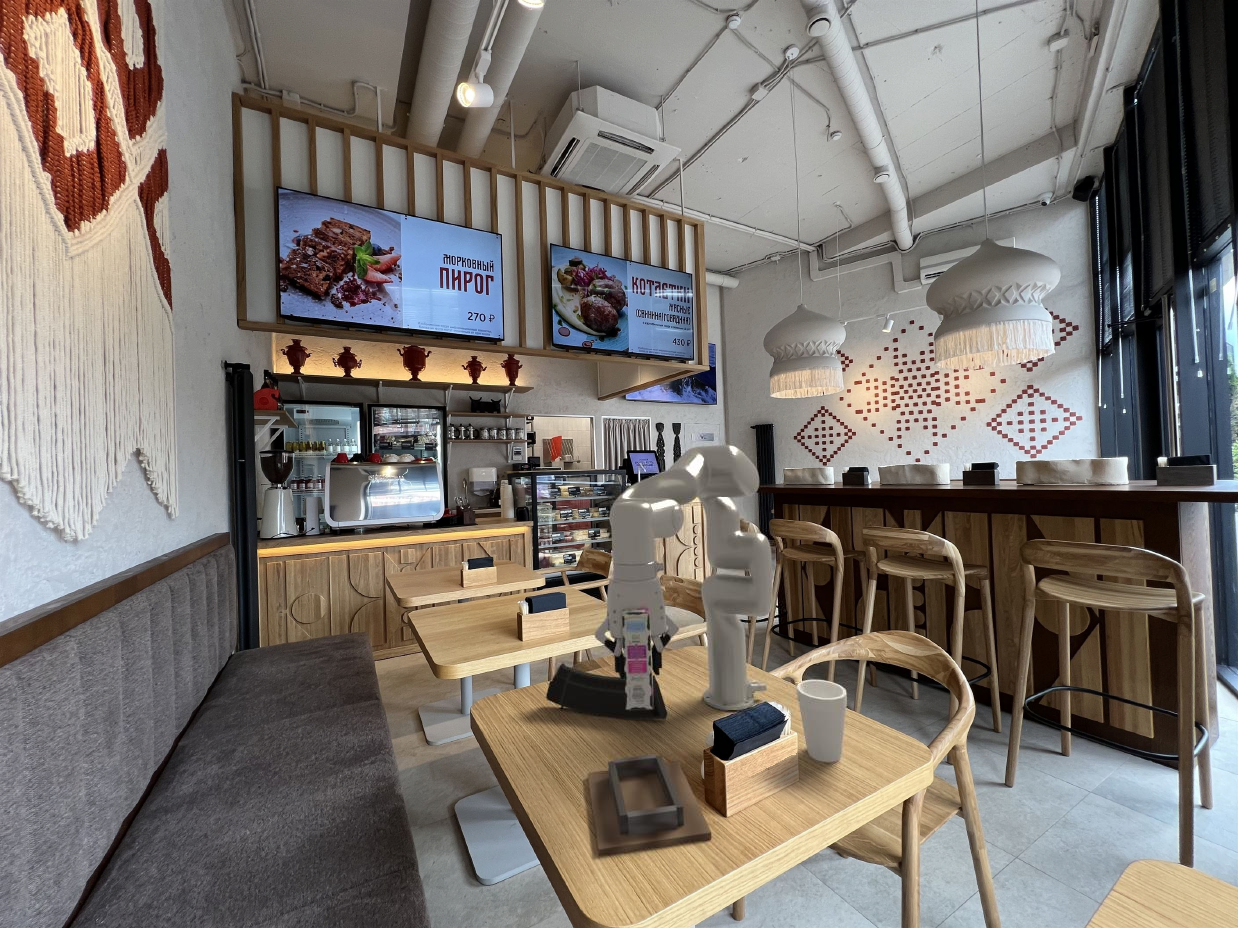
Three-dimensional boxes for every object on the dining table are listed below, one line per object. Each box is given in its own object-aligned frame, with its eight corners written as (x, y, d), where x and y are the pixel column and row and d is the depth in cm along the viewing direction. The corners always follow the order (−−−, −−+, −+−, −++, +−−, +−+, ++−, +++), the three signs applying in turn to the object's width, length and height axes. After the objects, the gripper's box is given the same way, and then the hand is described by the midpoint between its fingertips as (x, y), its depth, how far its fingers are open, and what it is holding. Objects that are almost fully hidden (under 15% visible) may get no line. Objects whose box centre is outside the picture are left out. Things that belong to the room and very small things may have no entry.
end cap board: (678, 766, 99) (677, 745, 99) (711, 838, 80) (710, 813, 80) (587, 778, 97) (586, 757, 97) (598, 855, 77) (597, 829, 77)
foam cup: (792, 742, 106) (789, 681, 106) (833, 739, 107) (831, 677, 107) (813, 769, 97) (810, 701, 97) (859, 764, 98) (856, 697, 98)
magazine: (676, 681, 118) (564, 635, 128) (673, 687, 115) (558, 640, 125) (658, 748, 119) (549, 698, 129) (655, 756, 116) (543, 704, 126)
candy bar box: (655, 710, 84) (650, 612, 84) (625, 711, 84) (620, 613, 84) (652, 682, 95) (648, 595, 95) (626, 683, 95) (621, 596, 95)
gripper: (676, 564, 94) (680, 661, 94) (584, 570, 91) (588, 670, 91) (687, 572, 86) (691, 677, 86) (588, 579, 84) (592, 688, 84)
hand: (638, 673), depth 89 cm, fingers closed on candy bar box, 5 cm apart
